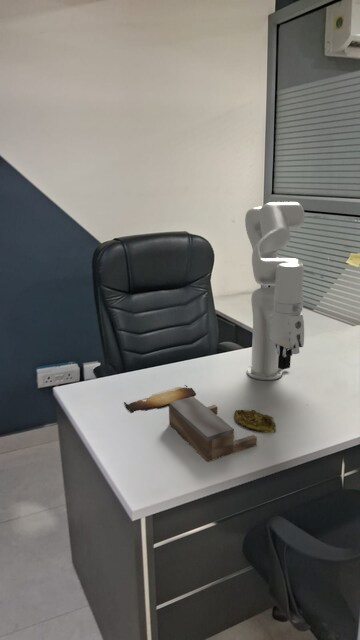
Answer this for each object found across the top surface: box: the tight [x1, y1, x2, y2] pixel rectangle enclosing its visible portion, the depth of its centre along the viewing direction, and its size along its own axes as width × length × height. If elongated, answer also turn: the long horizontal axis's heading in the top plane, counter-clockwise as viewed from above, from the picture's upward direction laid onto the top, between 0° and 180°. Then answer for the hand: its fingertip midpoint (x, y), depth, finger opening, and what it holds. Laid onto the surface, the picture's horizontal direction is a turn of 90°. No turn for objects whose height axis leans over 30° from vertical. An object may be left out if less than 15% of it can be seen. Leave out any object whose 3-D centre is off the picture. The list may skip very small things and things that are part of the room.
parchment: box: [124, 384, 197, 413], centre depth 155 cm, size 25×10×1 cm, turn 122°
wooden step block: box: [168, 395, 258, 463], centre depth 133 cm, size 16×21×7 cm
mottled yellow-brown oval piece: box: [233, 409, 277, 434], centre depth 140 cm, size 9×5×15 cm
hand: (284, 367), depth 140 cm, fingers closed
